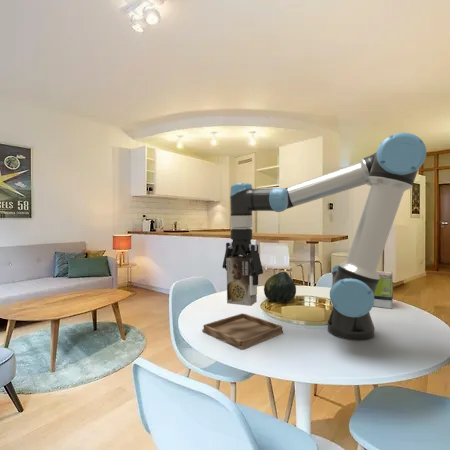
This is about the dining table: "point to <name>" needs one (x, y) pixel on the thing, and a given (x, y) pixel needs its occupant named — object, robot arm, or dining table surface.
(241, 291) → the coffee box
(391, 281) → the tea box
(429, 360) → the dining table surface
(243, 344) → the walnut tray
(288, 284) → the squash
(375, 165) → the robot arm
